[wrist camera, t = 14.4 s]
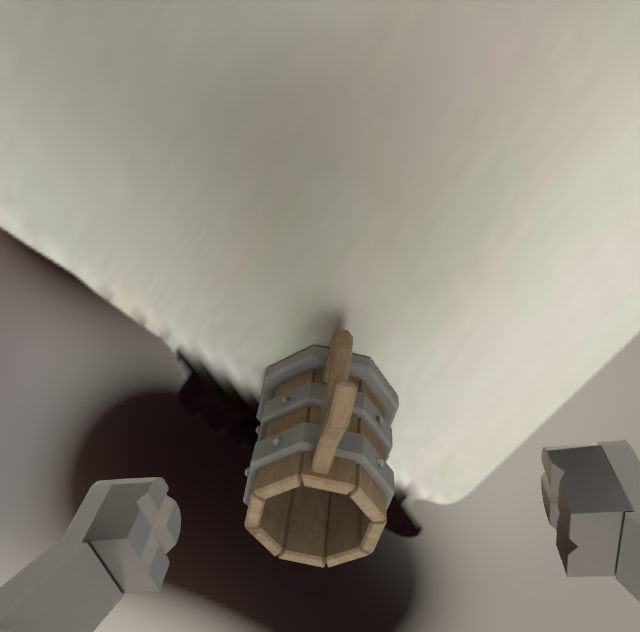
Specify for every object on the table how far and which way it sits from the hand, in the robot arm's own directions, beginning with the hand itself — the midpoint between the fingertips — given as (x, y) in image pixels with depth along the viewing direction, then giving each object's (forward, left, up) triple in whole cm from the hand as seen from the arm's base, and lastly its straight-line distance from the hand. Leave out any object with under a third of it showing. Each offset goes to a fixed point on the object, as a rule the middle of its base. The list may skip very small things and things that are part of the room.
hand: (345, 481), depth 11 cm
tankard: (+21, -6, -31) cm, 38 cm away
